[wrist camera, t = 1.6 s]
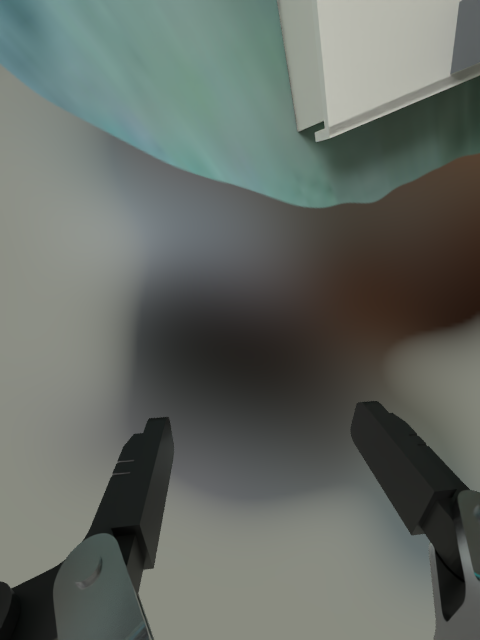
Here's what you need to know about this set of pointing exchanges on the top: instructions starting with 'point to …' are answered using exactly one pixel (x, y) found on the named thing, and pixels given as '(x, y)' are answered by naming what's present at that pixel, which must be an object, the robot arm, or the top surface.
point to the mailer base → (301, 60)
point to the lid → (390, 55)
